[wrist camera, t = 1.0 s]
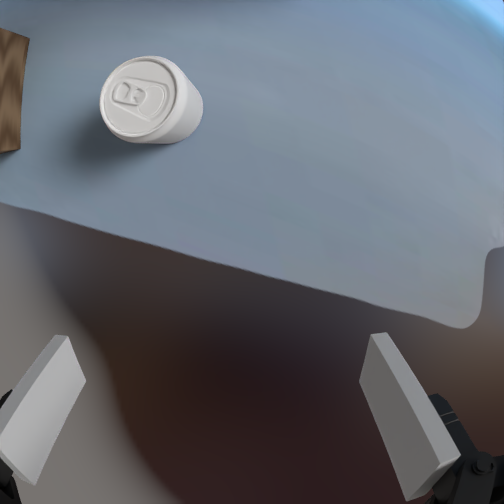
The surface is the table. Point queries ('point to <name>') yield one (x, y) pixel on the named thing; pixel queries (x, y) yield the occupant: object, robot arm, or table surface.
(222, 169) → the table surface
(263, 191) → the table surface
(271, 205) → the table surface
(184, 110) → the beverage can
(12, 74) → the walnut block
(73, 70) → the table surface
